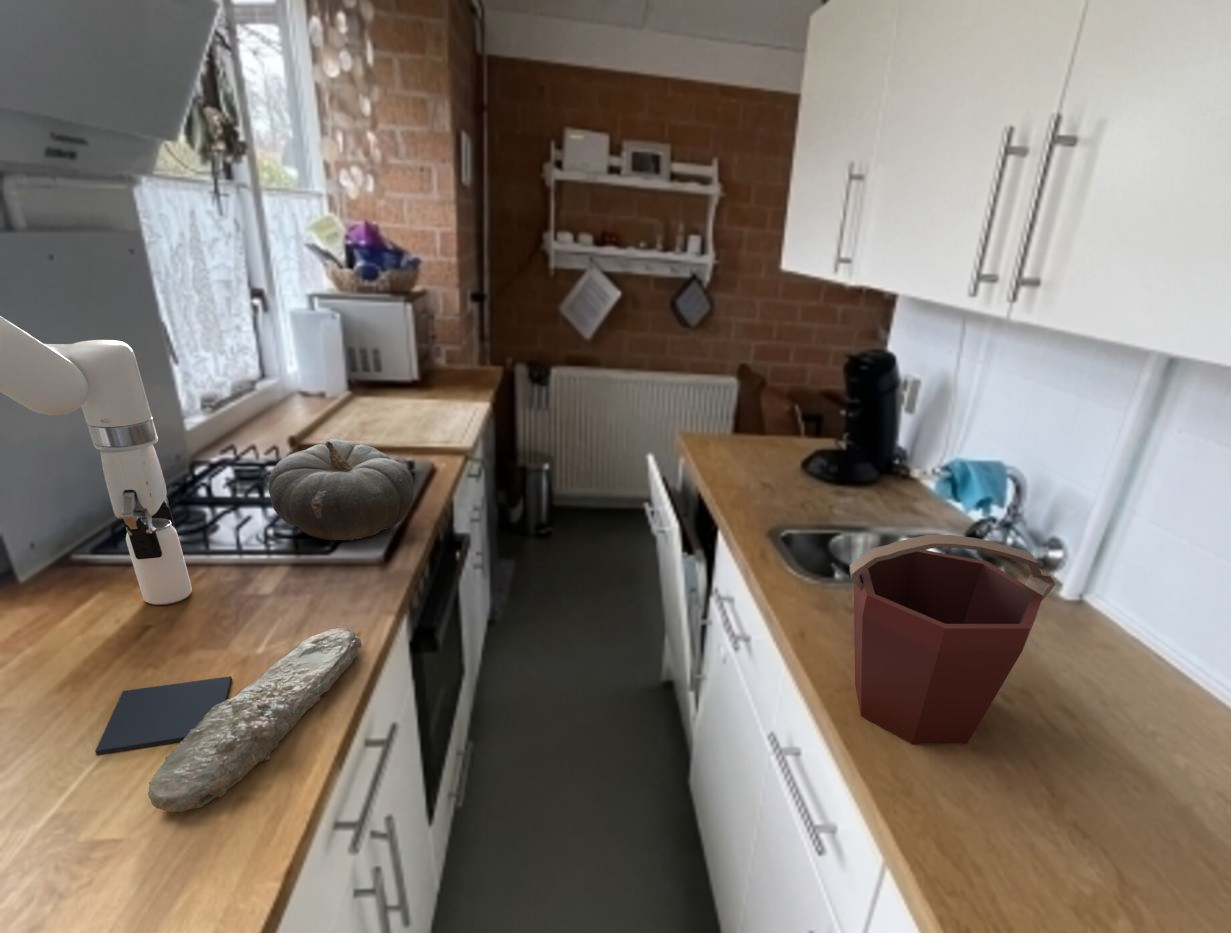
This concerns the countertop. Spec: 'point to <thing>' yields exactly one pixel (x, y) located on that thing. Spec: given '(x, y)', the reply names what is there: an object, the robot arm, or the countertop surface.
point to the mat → (160, 714)
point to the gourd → (341, 490)
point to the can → (162, 568)
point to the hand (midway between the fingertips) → (157, 544)
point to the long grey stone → (250, 723)
